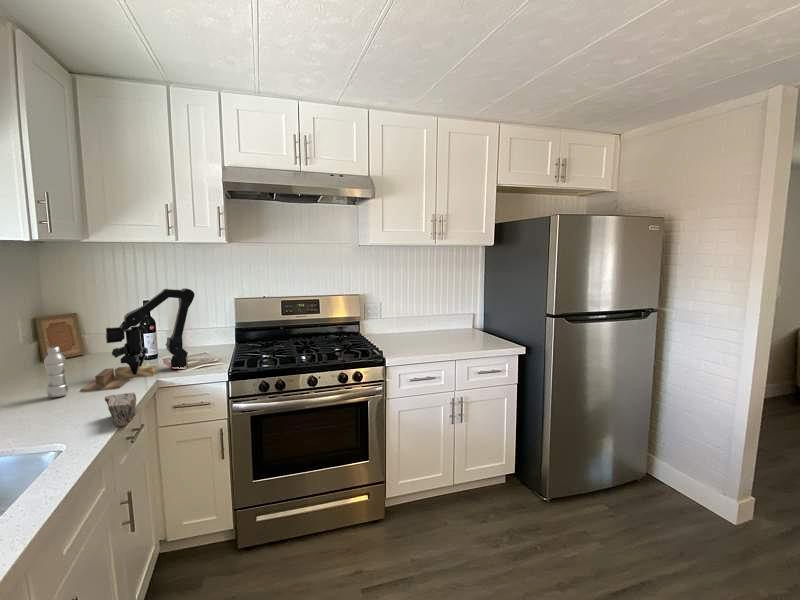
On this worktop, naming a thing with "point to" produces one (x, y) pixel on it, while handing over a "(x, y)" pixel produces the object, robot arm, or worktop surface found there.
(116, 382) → the walnut board
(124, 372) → the oak bar
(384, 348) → the worktop surface
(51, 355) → the plastic bottle
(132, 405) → the stone block
